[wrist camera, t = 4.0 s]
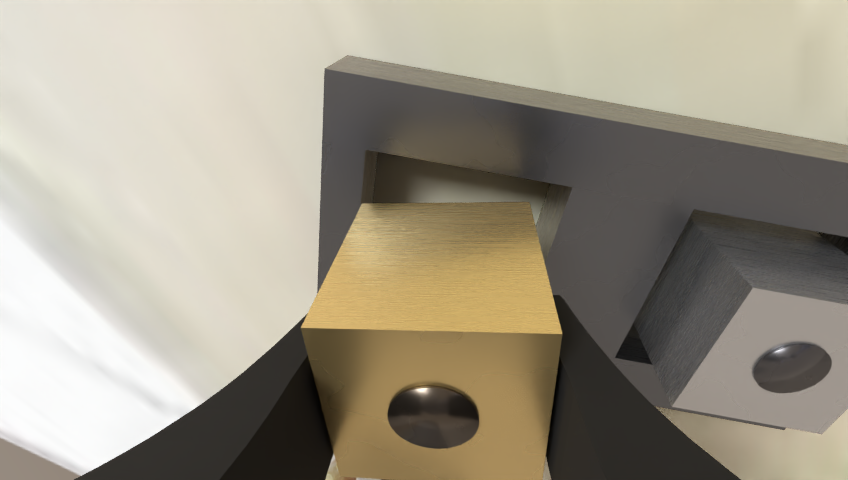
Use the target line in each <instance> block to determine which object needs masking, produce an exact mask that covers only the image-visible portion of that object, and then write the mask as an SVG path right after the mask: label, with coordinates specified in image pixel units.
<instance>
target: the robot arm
mask: <svg viewBox="0 0 848 480" xmlns="http://www.w3.org/2000/svg"><path fill="white" fill-rule="evenodd" d="M553 298H554V302H555V306H556V310H557V314H558V318H559V322H560V326H561V330H562V340H561V348H560V355H559V362H558V369H557V377H556V384H555V391H554V398H553V406H552V413H551V420H550V427H549V435H548V442H547V449H546V457H547V462H548V466H549V471H550V475H551V480H741V479H739V478H738V477H737V476H735V475H734V474H733V473H732V472H730V471H729V470H728V469H727V468H725V467H724V466H723V465H722V464H720V463H719V462H718V461H717V460H715V459H714V458H713V457H712V456H710V455H709V454H708V453H707V452H705V451H704V450H703V449H702V448H700V447H699V446H698V445H697V444H695V443H694V442H693V441H692V440H691V439H690V438H688V437H687V436H686V435H685V434H684V433H683V432H682V431H680V430H679V429H678V428H677V427H676V426H675V425H674V424H673V423H671V422H670V421H669V420H668V419H667V418H666V417H665V416H664V415H663V414H662V413H661V412H660V411H659V410H658V409H656V408H655V407H654V406H653V405H652V404H651V403H650V402H649V401H648V400H647V399H646V398H645V397H644V396H643V395H642V394H641V393H640V392H639V391H638V390H637V388H636V387H635V386H634V385H633V384H632V383H631V382H630V381H629V380H628V379H627V378H626V377H625V376H624V375H623V374H622V372H621V371H620V370H619V369H618V368H617V367H616V366H615V364H614V363H613V362H612V361H611V360H610V359H609V357H608V356H607V355H606V354H605V353H604V351H603V350H602V349H601V348H600V347H599V346H598V344H597V343H596V342H595V341H594V339H593V338H592V337H591V336H590V334H589V333H588V332H587V330H586V329H585V328H584V327H583V325H582V324H581V323H580V321H579V320H578V318H577V317H576V316H575V314H574V313H573V312H572V310H571V309H570V307H569V306H568V304H567V303H566V302H565V300H564V299H563V298H562V297H561V296H560V295H553ZM306 316H307V315H306ZM306 316H305V317H304V318H303V319H301V320H300V321H299V322H298V323H297V324H296V325H295V326H294V327H293V328H292V329H291V330H290V331H289V332H288V333H287V334H286V335H285V336H284V337H283V338H282V339H281V340H280V341H279V342H277V343H276V344H275V345H274V346H273V347H272V348H271V349H270V350H269V351H267V352H266V353H265V354H264V355H263V356H262V357H261V358H259V359H258V360H257V361H256V362H255V363H254V364H252V365H251V366H250V367H249V368H248V369H247V370H246V371H244V372H243V373H242V374H241V375H239V376H238V377H237V378H236V379H234V380H233V381H232V382H231V383H229V384H228V385H227V386H225V387H224V388H223V389H221V390H220V391H219V392H217V393H216V394H215V395H213V396H212V397H211V398H209V399H208V400H206V401H205V402H204V403H202V404H201V405H199V406H198V407H197V408H195V409H194V410H192V411H191V412H189V413H187V414H186V415H184V416H183V417H181V418H180V419H178V420H177V421H175V422H174V423H172V424H170V425H169V426H167V427H166V428H164V429H163V430H161V431H160V432H158V433H157V434H155V435H153V436H152V437H150V438H149V439H147V440H145V441H143V442H142V443H140V444H138V445H137V446H135V447H133V448H132V449H130V450H128V451H126V452H125V453H123V454H121V455H119V456H117V457H116V458H114V459H112V460H110V461H108V462H107V463H105V464H103V465H101V466H99V467H98V468H96V469H94V470H92V471H90V472H88V473H86V474H84V475H82V476H80V477H78V478H76V479H74V480H325V479H326V476H327V472H328V469H329V466H330V463H331V460H332V457H333V454H334V452H333V448H332V444H331V441H330V437H329V433H328V429H327V425H326V422H325V418H324V414H323V410H322V407H321V403H320V399H319V395H318V391H317V388H316V384H315V380H314V376H313V372H312V369H311V365H310V361H309V357H308V353H307V350H306V346H305V342H304V338H303V335H302V331H301V326H302V324H303V322H304V320H305V318H306Z"/></svg>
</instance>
